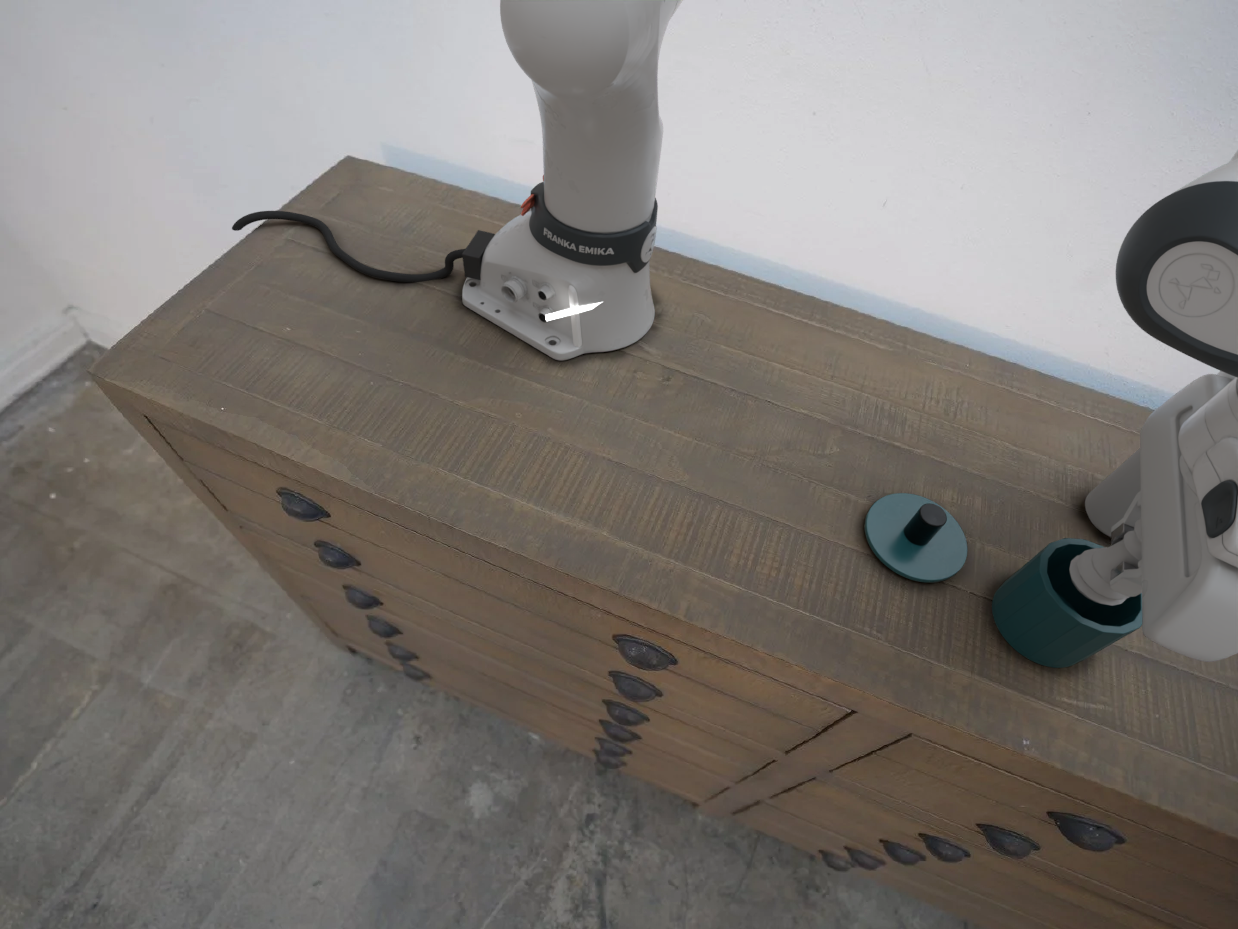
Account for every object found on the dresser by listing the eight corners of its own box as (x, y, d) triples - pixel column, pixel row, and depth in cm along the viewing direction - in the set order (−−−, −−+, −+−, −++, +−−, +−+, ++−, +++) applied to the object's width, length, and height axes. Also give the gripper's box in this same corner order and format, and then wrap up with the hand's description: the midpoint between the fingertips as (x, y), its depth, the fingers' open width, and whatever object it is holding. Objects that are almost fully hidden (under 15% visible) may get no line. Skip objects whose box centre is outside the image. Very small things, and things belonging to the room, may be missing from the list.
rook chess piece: (1122, 567, 54) (1198, 514, 48) (1127, 616, 52) (1208, 567, 45) (1064, 549, 55) (1131, 494, 48) (1066, 596, 52) (1138, 545, 46)
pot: (986, 642, 58) (1036, 604, 52) (997, 565, 62) (1043, 523, 56) (1086, 684, 56) (1149, 651, 50) (1089, 603, 61) (1148, 563, 55)
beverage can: (1155, 554, 64) (1261, 482, 55) (1086, 539, 65) (1179, 465, 55) (1139, 499, 68) (1235, 423, 58) (1074, 486, 68) (1158, 408, 59)
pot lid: (852, 559, 62) (870, 534, 58) (873, 485, 67) (891, 457, 63) (954, 602, 60) (980, 578, 56) (968, 522, 65) (992, 495, 61)
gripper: (1208, 326, 46) (1081, 450, 57) (1234, 566, 35) (1069, 662, 46) (1310, 359, 45) (1160, 478, 56) (1373, 619, 33) (1169, 704, 44)
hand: (1119, 563), depth 51 cm, fingers closed on rook chess piece, 3 cm apart
